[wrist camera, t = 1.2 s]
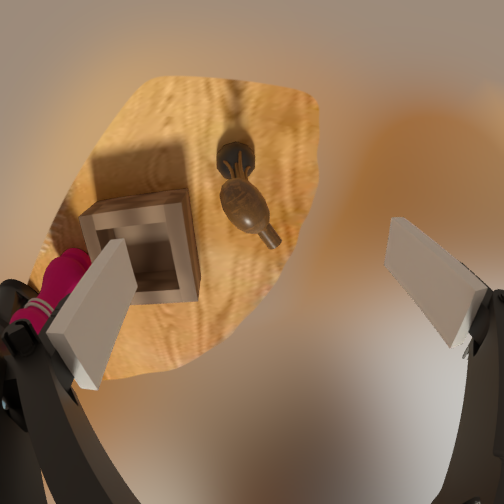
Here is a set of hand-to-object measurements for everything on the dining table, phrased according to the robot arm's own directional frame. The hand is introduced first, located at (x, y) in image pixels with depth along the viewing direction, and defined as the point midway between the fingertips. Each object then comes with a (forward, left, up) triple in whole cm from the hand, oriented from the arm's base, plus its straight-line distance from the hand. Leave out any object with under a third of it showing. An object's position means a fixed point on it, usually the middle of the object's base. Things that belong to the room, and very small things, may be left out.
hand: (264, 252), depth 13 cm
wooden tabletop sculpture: (0, 0, -24) cm, 24 cm away
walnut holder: (-13, -9, -24) cm, 29 cm away
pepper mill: (-26, -12, -24) cm, 38 cm away
